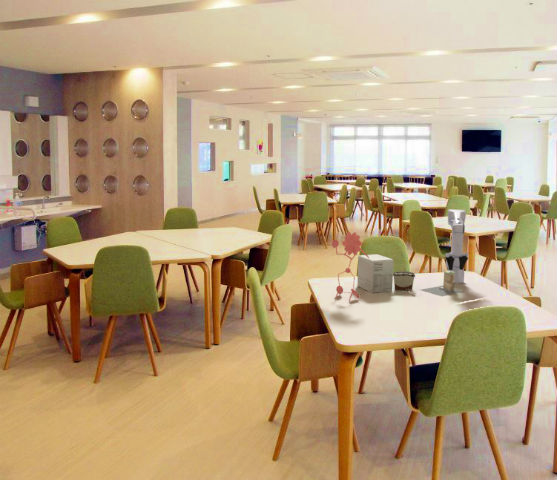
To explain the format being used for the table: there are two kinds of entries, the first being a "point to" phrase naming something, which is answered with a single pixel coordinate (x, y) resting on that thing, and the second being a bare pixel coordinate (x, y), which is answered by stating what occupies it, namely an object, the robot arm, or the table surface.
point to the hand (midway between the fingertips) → (456, 269)
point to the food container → (403, 280)
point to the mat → (441, 291)
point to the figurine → (351, 246)
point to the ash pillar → (449, 280)
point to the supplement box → (375, 273)
